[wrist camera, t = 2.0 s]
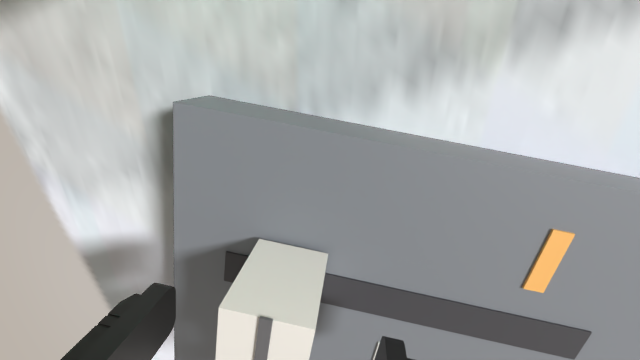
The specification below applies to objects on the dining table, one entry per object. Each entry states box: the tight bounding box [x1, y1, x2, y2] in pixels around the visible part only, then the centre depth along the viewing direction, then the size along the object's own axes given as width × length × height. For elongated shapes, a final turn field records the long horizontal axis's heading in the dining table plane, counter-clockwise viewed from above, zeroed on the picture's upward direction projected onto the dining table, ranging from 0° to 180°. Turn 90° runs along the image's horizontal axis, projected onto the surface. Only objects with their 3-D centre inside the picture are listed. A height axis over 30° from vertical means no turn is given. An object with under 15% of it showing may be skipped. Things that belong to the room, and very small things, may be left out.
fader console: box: [173, 96, 640, 360], centre depth 15 cm, size 14×21×3 cm, turn 80°
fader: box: [215, 239, 328, 360], centre depth 12 cm, size 4×3×4 cm
